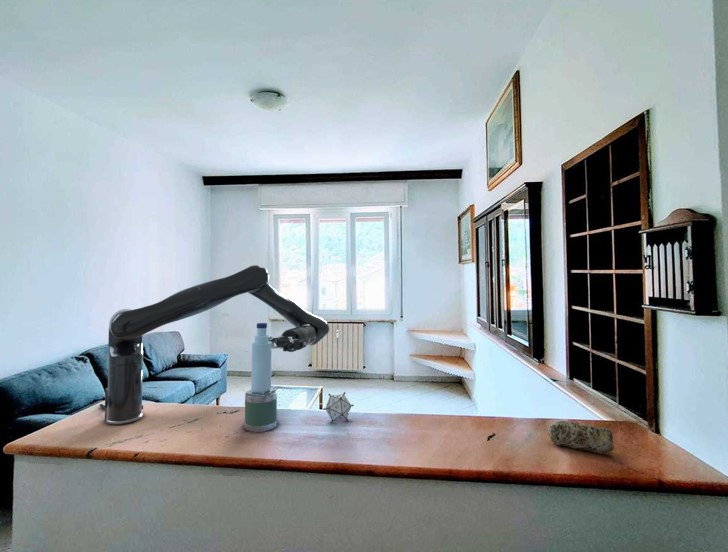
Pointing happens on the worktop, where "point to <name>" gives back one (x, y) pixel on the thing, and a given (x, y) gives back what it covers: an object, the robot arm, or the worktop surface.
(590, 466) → the worktop surface
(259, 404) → the tin
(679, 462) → the worktop surface
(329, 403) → the game die
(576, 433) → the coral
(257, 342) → the bottle
